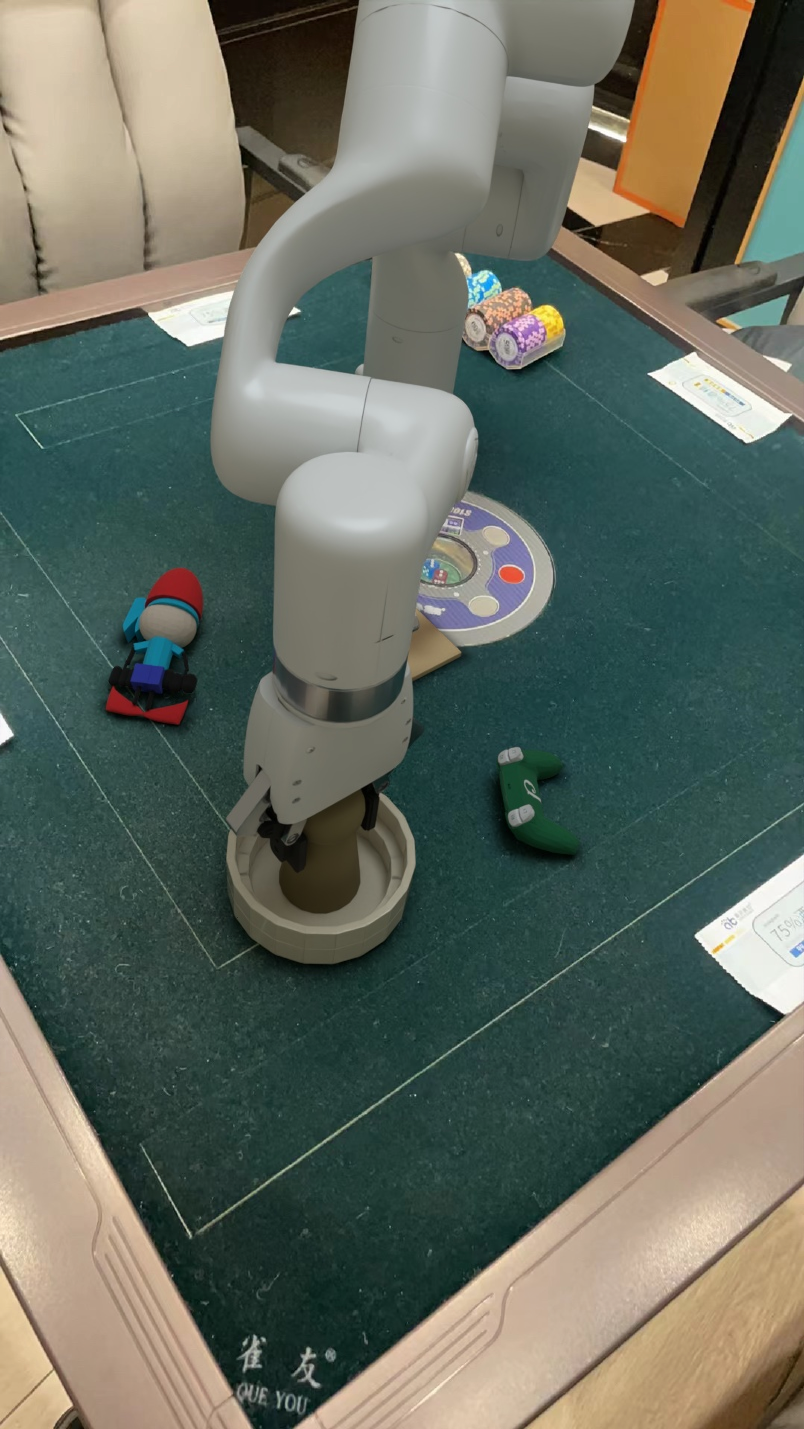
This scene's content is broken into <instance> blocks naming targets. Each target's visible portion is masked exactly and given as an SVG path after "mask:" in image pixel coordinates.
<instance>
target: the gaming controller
mask: <svg viewBox="0 0 804 1429" xmlns="http://www.w3.org/2000/svg"><path fill="white" fill-rule="evenodd" d="M563 767H564V765H563V762H562V760H561V759H560V758H559V757H558V756H557V755H556V754H554V753H551V752H549V751H543V750H537V749H521V748H520V747H519V746H515V747H511V748H506V749H504V750H503V751H501V752H500V753H499V754H498V755H497V756H496V770H497V772H498V779H499V784H500V790H501V795H502V800H503V807H504V811H505V812H504V815H505V820H506V823H507V825H508V828H509V830H510V832H511V833H512V834H513V835H514V838H515V839H516V840H518V841H519V842H520V841H521V842H522V843H524V844H527V845H529V846H531V847H533V848H536V849H540V850H543V851H547V852H549V853H553V854H562V855H570V856H571V855H572V856H574V855H576V853H577V851H578V848H579V845H580V840H579V838H578V837H577V836H576V835H575V834H574V833H573V832H572V831H571V830H569V829H568V828H565V827H563V826H562V825H560V824H558V823H556V822H554V821H552V820H551V819H548V818H546V817H545V814H544V809H543V803H542V799H541V794H540V788H539V784H538V781H541V780H545V779H550V778H553V777H555V776H556V775H558V774H559V773H561V771H562V770H563Z"/></svg>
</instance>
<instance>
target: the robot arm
mask: <svg viewBox="0 0 804 1429" xmlns="http://www.w3.org/2000/svg"><path fill="white" fill-rule="evenodd" d="M635 2H636V0H358V7H357V13H356V20H355V27H354V33H353V42H352V49H351V56H350V61H349V62H350V63H349V68H348V74H347V75H348V76H347V82H346V87H345V95H344V102H343V107H342V108H343V109H342V112H341V113H342V114H341V118H340V127H339V134H338V142H337V151H336V155H335V159H334V162H333V165H332V167H331V169H330V171H329V172H328V173H327V174H326V175H325V176H324V177H323V178H322V179H321V181H319V182H318V183H317V184H315V185H314V186H313V187H312V188H310V189H309V190H308V191H307V192H306V193H305V194H303V195H302V196H301V197H300V198H299V199H298V200H296V201H295V202H294V203H293V204H292V205H291V206H289V208H288V209H287V210H286V211H285V212H284V213H283V214H282V215H281V216H280V217H279V218H278V219H277V220H275V223H274V224H273V225H272V226H271V227H270V229H269V230H268V231H267V233H266V234H265V235H264V236H263V238H262V239H261V240H260V241H259V242H258V244H257V245H256V247H255V249H254V251H253V252H252V254H251V255H250V257H249V258H248V259H247V261H246V263H245V265H244V267H243V270H242V272H241V274H240V276H239V277H238V279H237V282H236V285H235V287H234V289H233V293H232V296H231V299H230V303H229V306H228V308H227V309H228V310H227V314H226V319H225V325H224V331H223V340H222V346H221V353H220V358H219V365H218V371H217V376H216V382H215V388H214V394H213V402H212V411H211V423H210V434H209V435H210V437H209V438H210V440H209V441H210V442H209V443H210V455H211V456H210V457H211V461H212V465H213V468H214V472H215V474H216V476H217V478H218V480H219V482H220V483H221V484H222V486H223V487H224V488H225V489H227V490H228V491H229V492H230V493H231V494H233V495H234V496H237V497H238V498H241V499H243V500H244V501H245V500H246V501H248V502H252V503H257V504H263V505H267V506H272V507H275V515H274V516H275V517H274V554H273V556H274V558H273V559H274V560H273V567H274V569H273V610H272V611H273V614H272V615H273V616H272V618H273V619H272V659H271V660H272V661H271V662H272V665H271V671H270V672H269V673H267V674H266V675H264V676H263V677H262V678H261V679H260V682H259V684H258V686H257V688H256V692H255V693H254V696H253V700H252V703H251V707H250V711H249V715H248V718H247V719H248V720H247V725H246V733H245V740H244V748H243V749H244V750H243V778H244V781H245V783H246V784H247V785H248V787H247V788H246V790H245V791H244V792H243V794H242V796H240V798H239V799H238V800H237V802H236V803H235V805H234V806H233V808H232V809H231V810H230V811H229V813H228V814H227V816H226V817H225V820H224V821H225V823H226V825H227V826H228V827H229V828H230V830H232V831H233V832H234V833H235V835H236V836H254V835H255V834H259V835H260V836H261V838H269V839H270V847H271V850H272V852H273V853H274V855H275V856H276V857H277V859H278V860H279V861H280V862H284V861H287V862H288V863H289V864H290V866H291V867H292V868H293V869H294V871H295V872H296V873H299V872H300V871H302V870H304V867H305V866H306V856H307V841H308V840H307V837H306V835H305V834H304V833H303V832H302V831H303V828H304V826H305V824H306V821H307V819H308V818H309V817H311V816H313V815H314V814H316V813H318V812H320V811H322V810H323V809H325V808H327V807H329V806H331V805H332V804H334V803H336V802H338V801H340V800H341V799H343V798H345V797H347V796H348V795H350V794H352V793H354V792H355V791H357V790H359V789H361V791H362V793H363V795H364V799H365V815H364V818H363V820H362V823H361V825H360V826H361V827H362V828H363V829H364V830H365V831H366V830H367V831H370V830H371V829H373V828H375V825H376V818H377V812H378V806H379V800H380V797H379V794H380V793H383V792H385V791H386V790H387V789H388V788H389V786H390V784H391V780H390V778H389V775H390V774H391V773H393V771H394V769H395V768H397V766H398V765H400V764H401V763H402V762H403V760H404V758H405V756H406V754H407V751H408V750H409V749H410V748H411V747H412V746H413V744H414V743H415V742H416V741H417V740H418V739H419V738H420V737H421V736H422V735H423V733H424V732H425V730H426V729H425V727H424V726H423V724H422V723H420V721H419V720H418V719H417V718H416V717H415V716H414V686H413V681H412V678H411V672H410V668H409V664H408V661H407V660H408V654H409V648H410V642H411V636H412V632H414V631H416V630H418V629H419V620H418V618H417V616H416V614H415V612H416V608H417V606H418V604H417V603H418V598H419V592H420V586H421V585H420V584H421V579H422V573H423V568H424V566H425V564H426V560H427V559H428V557H429V554H430V552H431V551H432V548H433V546H434V544H435V542H436V540H437V538H438V536H439V534H440V532H441V530H442V528H443V526H444V524H445V523H446V521H447V519H448V518H449V516H450V514H451V513H452V511H453V509H454V506H455V505H456V504H460V503H461V502H462V500H463V498H464V497H465V496H466V494H467V492H468V490H469V486H470V483H471V481H472V479H473V475H474V471H475V467H476V463H477V457H478V448H479V433H478V430H477V428H476V427H475V421H474V417H473V414H472V412H471V409H470V408H469V407H468V404H466V403H465V402H464V401H463V400H462V399H461V398H460V397H458V396H456V395H455V394H454V390H455V384H456V377H457V372H458V366H459V361H460V360H459V359H460V353H461V347H462V342H463V335H464V330H465V323H466V318H467V313H468V307H469V299H470V298H469V296H470V293H469V286H468V279H467V277H466V274H465V271H464V269H463V266H462V264H461V263H460V261H459V259H458V257H457V255H456V253H465V254H472V255H480V256H484V257H485V256H486V257H493V258H498V259H504V260H512V261H522V262H530V261H531V262H532V261H536V260H539V259H541V258H542V257H544V256H545V255H547V254H548V252H549V251H550V250H551V249H552V248H553V246H554V244H555V242H556V241H557V238H558V237H559V233H560V231H561V228H562V225H563V222H564V219H565V217H566V216H565V215H566V211H567V208H568V204H569V200H570V197H571V193H572V189H573V186H574V183H575V178H576V174H577V171H578V169H579V168H578V167H579V165H580V160H581V156H582V152H583V149H584V145H585V141H586V139H587V134H588V132H589V131H588V130H589V126H590V121H591V117H592V110H593V104H594V96H595V85H596V84H597V83H600V82H601V81H602V80H604V79H605V77H607V75H608V74H609V73H610V72H611V70H613V67H614V65H615V64H616V62H617V60H618V58H619V56H620V54H621V52H622V49H623V46H624V43H625V41H626V38H627V34H628V31H629V27H630V24H631V21H632V15H633V12H634V7H635ZM369 259H372V264H371V274H370V275H371V277H370V288H369V299H368V300H369V301H368V303H369V304H368V310H367V323H366V334H365V343H364V344H365V347H364V356H363V359H364V360H363V363H361V364H360V365H358V366H357V368H356V369H355V371H354V374H353V373H348V372H341V371H337V370H328V369H322V368H317V367H310V366H305V365H304V366H303V365H296V364H290V363H284V362H283V363H281V362H277V357H278V356H277V354H278V349H279V344H280V340H281V337H282V333H283V330H284V327H285V324H286V322H287V320H288V318H289V316H290V314H291V313H292V311H293V310H294V308H295V306H296V305H297V304H298V302H299V301H300V300H301V299H302V298H303V297H304V296H305V295H306V294H307V293H308V292H309V291H310V290H311V289H313V288H314V287H315V286H317V285H318V284H319V283H321V281H323V280H325V279H327V278H329V277H330V276H332V275H333V274H336V273H337V272H340V271H341V270H344V269H346V268H348V267H350V266H352V265H355V264H358V263H360V262H363V261H366V260H369Z"/></svg>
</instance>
